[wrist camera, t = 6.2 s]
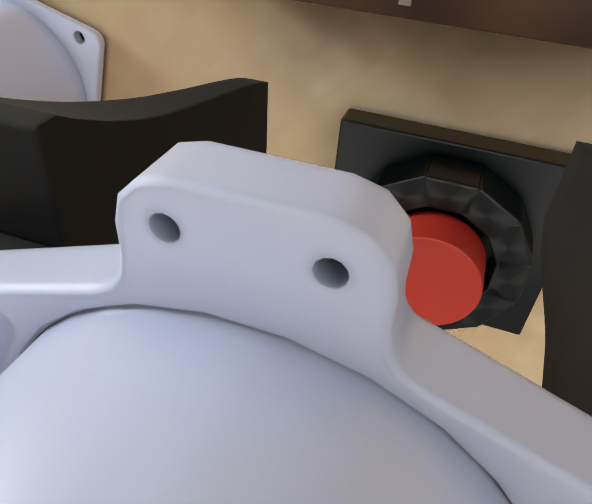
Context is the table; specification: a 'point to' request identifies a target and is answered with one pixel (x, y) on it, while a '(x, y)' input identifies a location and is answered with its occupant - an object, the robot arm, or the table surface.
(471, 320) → the black button base
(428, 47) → the table surface
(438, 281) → the release button
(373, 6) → the lock plate
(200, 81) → the table surface
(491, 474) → the robot arm
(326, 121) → the table surface
